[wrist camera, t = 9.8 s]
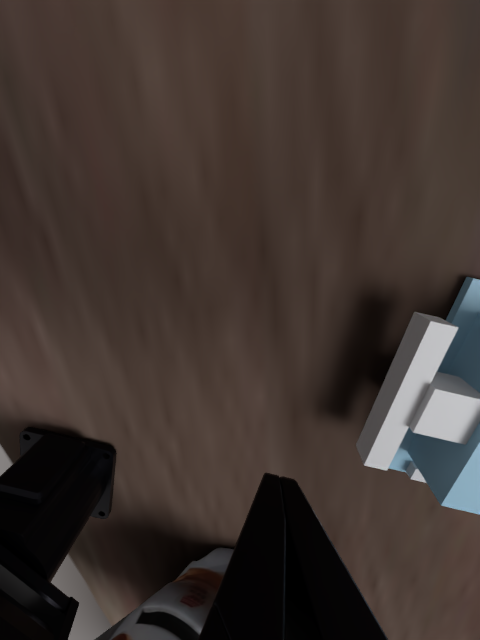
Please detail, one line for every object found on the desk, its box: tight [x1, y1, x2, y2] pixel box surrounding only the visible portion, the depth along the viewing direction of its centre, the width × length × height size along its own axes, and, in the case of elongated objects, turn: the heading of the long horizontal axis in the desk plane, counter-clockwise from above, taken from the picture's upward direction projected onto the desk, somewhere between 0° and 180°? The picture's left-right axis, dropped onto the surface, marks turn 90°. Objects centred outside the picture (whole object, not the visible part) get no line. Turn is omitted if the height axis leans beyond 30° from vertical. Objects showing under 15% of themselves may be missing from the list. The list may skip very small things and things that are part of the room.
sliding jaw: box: [356, 312, 480, 514], centre depth 14 cm, size 9×6×4 cm
